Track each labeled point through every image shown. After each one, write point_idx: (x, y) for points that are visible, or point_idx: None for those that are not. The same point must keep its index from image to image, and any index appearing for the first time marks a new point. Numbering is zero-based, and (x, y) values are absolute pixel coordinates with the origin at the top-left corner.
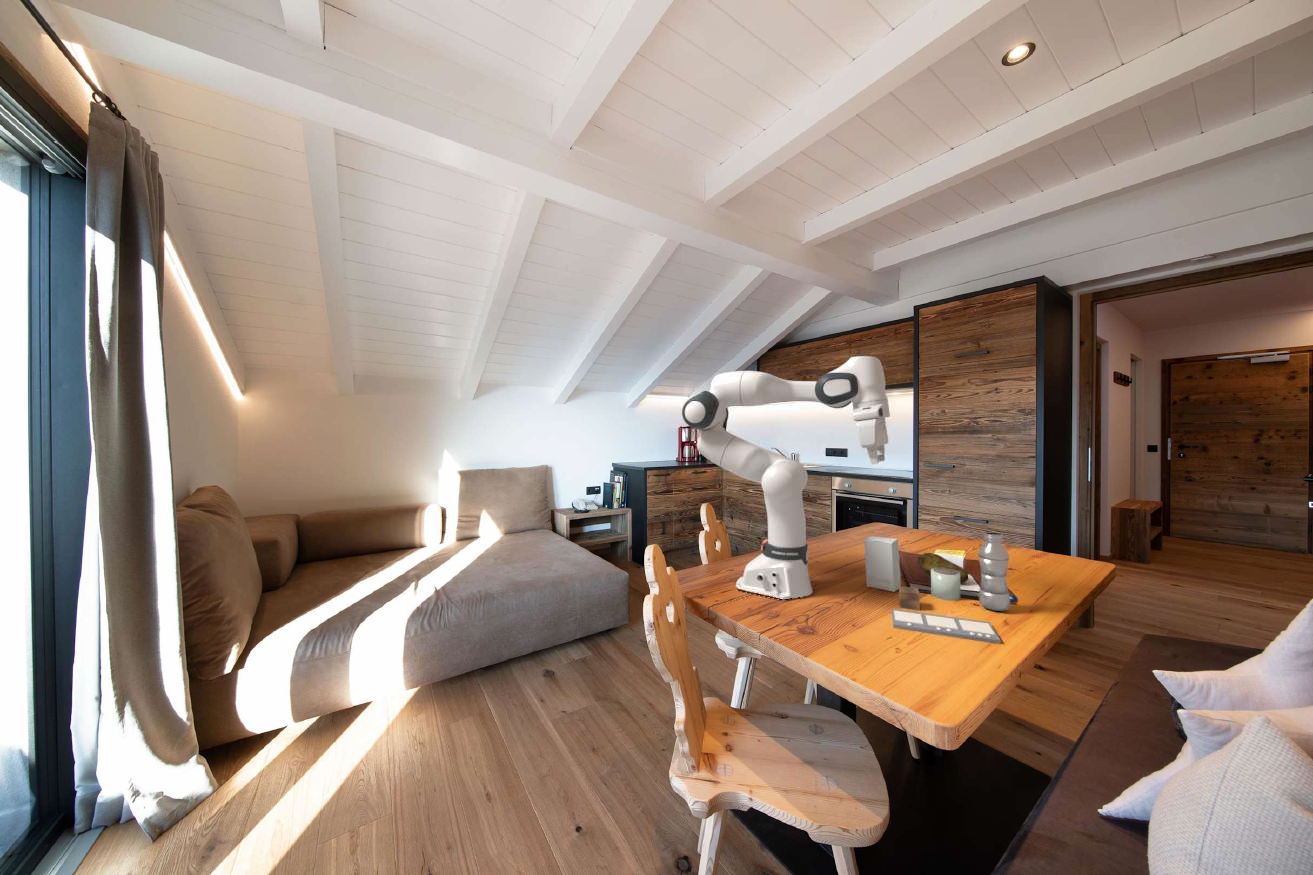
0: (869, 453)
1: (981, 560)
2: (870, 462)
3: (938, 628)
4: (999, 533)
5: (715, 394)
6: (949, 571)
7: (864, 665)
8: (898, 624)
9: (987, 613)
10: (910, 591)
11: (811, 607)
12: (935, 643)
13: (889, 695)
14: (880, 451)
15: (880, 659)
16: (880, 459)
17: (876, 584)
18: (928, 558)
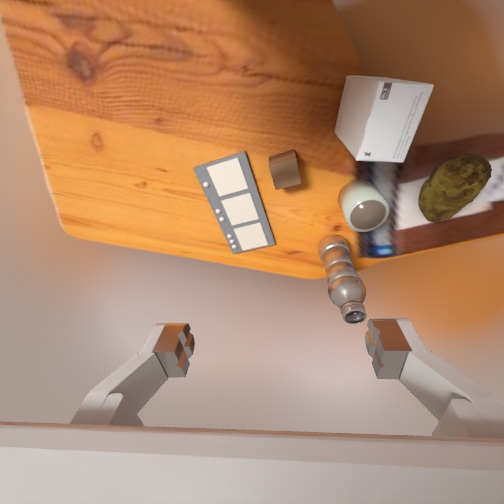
0: (107, 384)
1: (335, 275)
2: (153, 328)
3: (216, 211)
4: (360, 322)
5: None
6: (367, 220)
7: (79, 167)
8: (197, 173)
9: (312, 238)
10: (279, 178)
11: (164, 20)
12: (189, 210)
13: (58, 198)
14: (431, 391)
15: (106, 176)
16: (374, 337)
17: (342, 99)
18: (452, 180)
